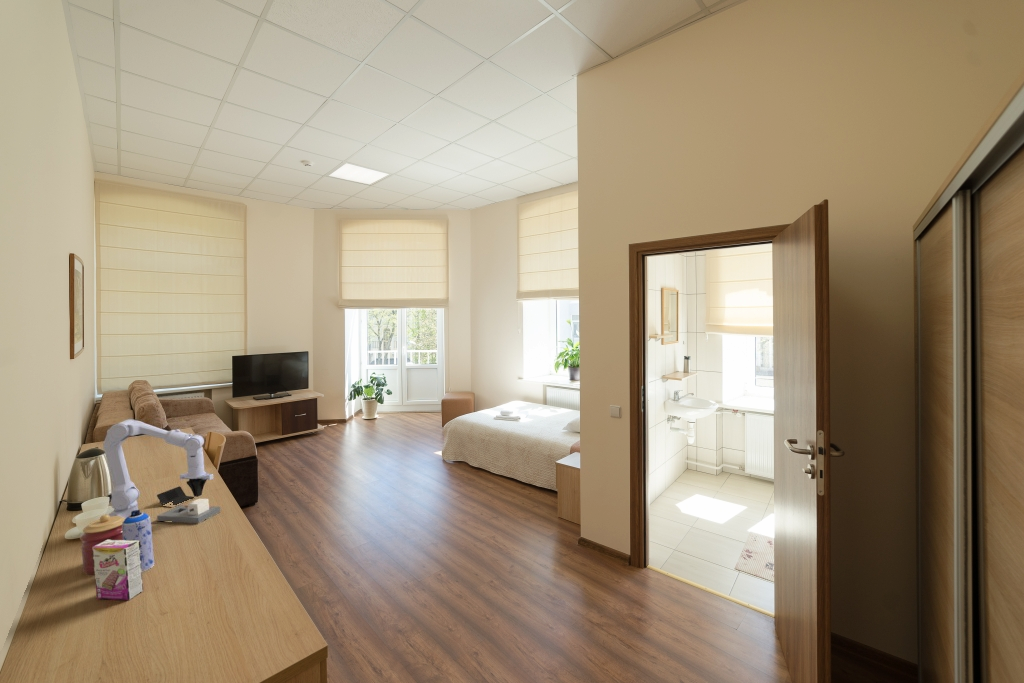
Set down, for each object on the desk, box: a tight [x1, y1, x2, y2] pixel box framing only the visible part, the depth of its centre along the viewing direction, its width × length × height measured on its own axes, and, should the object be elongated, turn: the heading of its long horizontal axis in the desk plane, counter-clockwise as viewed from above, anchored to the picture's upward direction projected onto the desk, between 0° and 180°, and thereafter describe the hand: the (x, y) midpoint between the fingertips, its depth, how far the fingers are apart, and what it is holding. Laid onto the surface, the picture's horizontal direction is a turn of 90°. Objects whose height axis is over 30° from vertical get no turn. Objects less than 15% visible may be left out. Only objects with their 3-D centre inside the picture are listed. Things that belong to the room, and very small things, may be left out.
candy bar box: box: [92, 540, 144, 601], centre depth 136 cm, size 11×5×16 cm, turn 84°
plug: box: [187, 498, 210, 515], centre depth 191 cm, size 7×5×6 cm
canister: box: [79, 513, 126, 575], centre depth 155 cm, size 13×13×18 cm
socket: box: [156, 504, 221, 524], centre depth 193 cm, size 11×20×3 cm, turn 80°
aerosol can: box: [122, 509, 156, 573], centre depth 152 cm, size 8×8×20 cm
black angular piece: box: [156, 486, 195, 506], centre depth 210 cm, size 12×7×10 cm
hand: (198, 495), depth 191 cm, fingers closed
